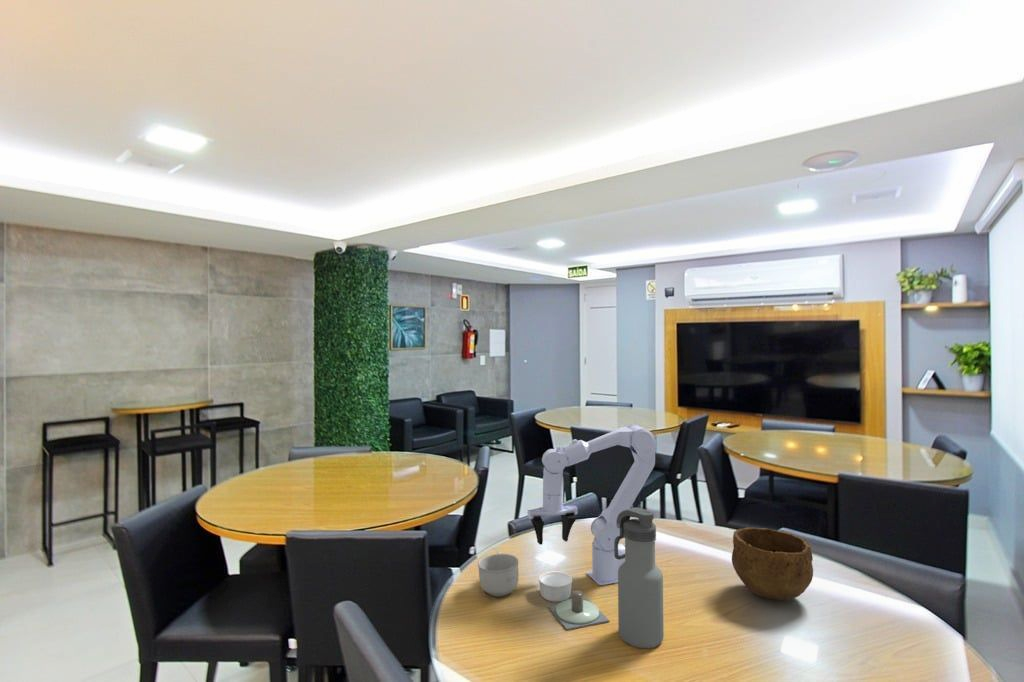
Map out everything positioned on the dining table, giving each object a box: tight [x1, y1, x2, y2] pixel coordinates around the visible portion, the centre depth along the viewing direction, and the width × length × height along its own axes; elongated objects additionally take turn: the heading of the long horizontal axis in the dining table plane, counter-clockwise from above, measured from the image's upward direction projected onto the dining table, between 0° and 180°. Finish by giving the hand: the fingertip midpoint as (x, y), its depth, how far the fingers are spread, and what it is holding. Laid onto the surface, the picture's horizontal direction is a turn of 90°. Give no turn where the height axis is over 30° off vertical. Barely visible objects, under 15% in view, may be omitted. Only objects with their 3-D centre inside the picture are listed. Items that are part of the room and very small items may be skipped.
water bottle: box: [614, 507, 665, 649], centre depth 111 cm, size 10×10×28 cm
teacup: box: [477, 550, 519, 597], centre depth 133 cm, size 14×11×8 cm
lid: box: [556, 590, 600, 624], centre depth 120 cm, size 10×10×5 cm
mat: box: [547, 598, 610, 631], centre depth 120 cm, size 11×11×1 cm
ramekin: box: [538, 570, 573, 603], centre depth 130 cm, size 9×9×4 cm
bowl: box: [731, 527, 814, 601], centre depth 129 cm, size 19×19×15 cm
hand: (552, 541), depth 139 cm, fingers open, 7 cm apart
